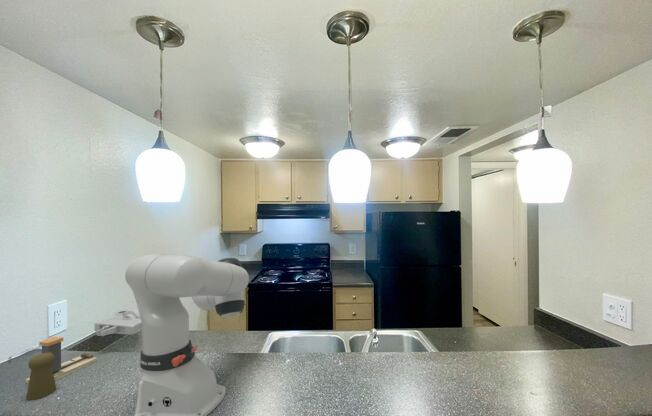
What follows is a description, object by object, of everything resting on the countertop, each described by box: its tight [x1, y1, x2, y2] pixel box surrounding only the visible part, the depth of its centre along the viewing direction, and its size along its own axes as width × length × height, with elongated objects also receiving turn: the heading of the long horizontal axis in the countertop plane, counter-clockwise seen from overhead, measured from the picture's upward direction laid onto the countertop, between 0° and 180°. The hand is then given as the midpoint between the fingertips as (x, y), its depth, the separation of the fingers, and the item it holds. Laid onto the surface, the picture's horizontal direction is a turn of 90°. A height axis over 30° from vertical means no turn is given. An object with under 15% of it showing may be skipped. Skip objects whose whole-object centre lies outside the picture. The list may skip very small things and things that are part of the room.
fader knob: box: [39, 336, 64, 373], centre depth 88 cm, size 4×4×10 cm
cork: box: [25, 352, 57, 402], centre depth 79 cm, size 6×6×11 cm
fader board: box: [25, 352, 98, 385], centre depth 90 cm, size 8×15×2 cm, turn 164°
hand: (99, 333), depth 101 cm, fingers closed
